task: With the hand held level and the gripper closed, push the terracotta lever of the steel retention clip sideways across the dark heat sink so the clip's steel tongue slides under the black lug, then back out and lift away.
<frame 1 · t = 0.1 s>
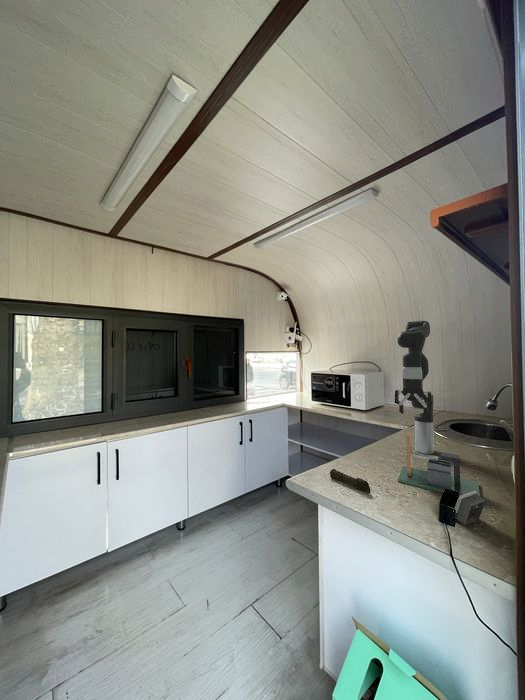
hand: (413, 414, 115), 29 cm above the worktop, tool pointing down, fingers open, 8 cm apart
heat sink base: (426, 480, 116), on the worktop
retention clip: (422, 455, 117), point 11 cm above the worktop, slide at 0.0 cm
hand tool: (350, 485, 114), on the worktop
electrical switch: (468, 521, 89), on the worktop
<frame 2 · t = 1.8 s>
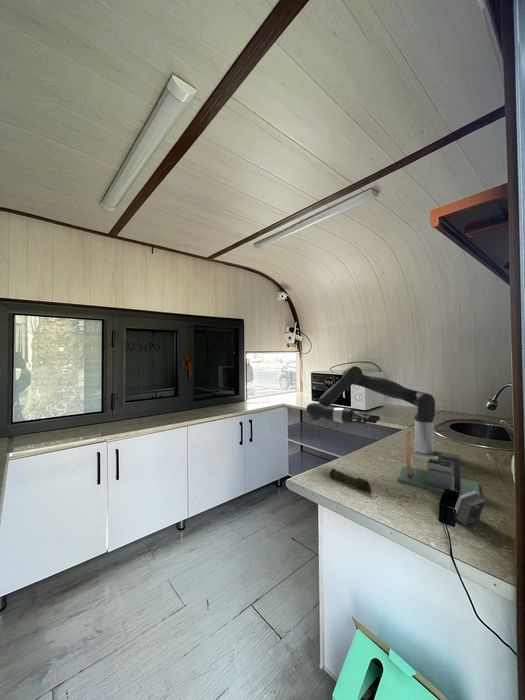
hand: (378, 419, 128), 24 cm above the worktop, tool horizontal, fingers open, 5 cm apart
nothing on the worktop moved.
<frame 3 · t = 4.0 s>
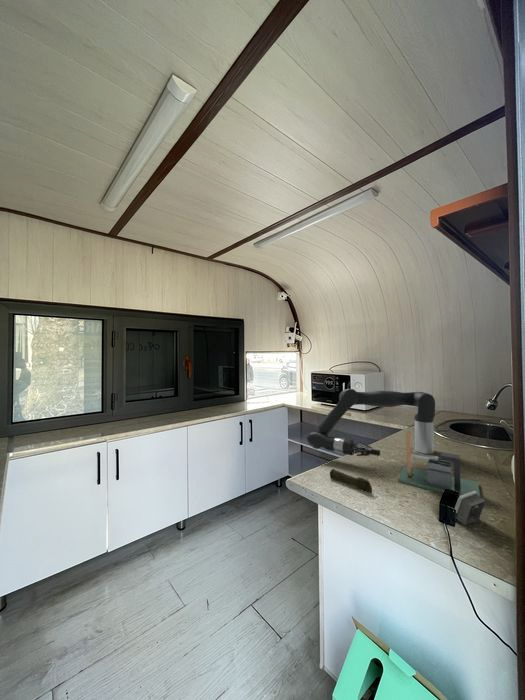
hand: (379, 453, 127), 8 cm above the worktop, tool horizontal, fingers closed
nothing on the worktop moved.
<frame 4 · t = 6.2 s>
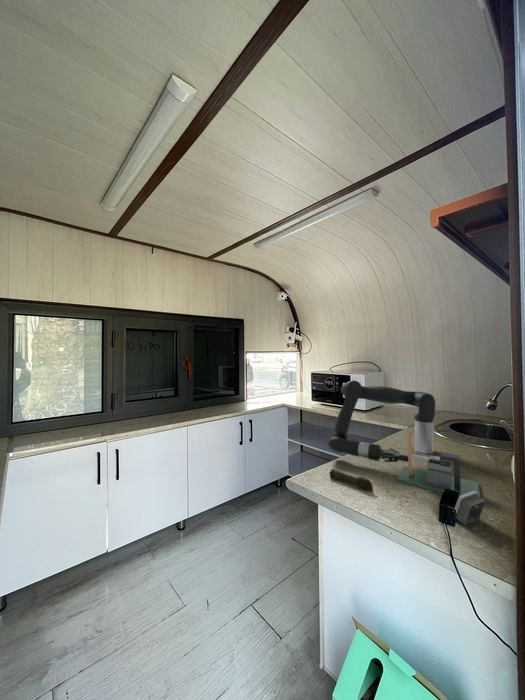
hand: (409, 459, 120), 8 cm above the worktop, tool horizontal, fingers closed
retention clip: (424, 456, 117), point 11 cm above the worktop, slide at 0.6 cm, touching gripper
everything else where it was.
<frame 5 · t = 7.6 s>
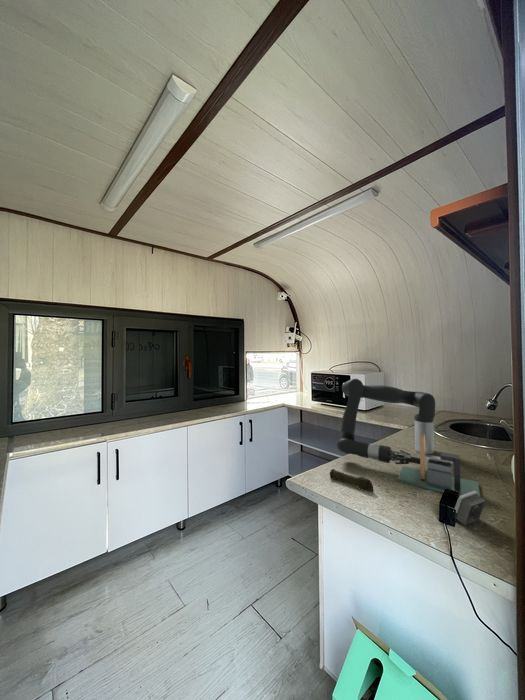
hand: (421, 461, 117), 8 cm above the worktop, tool horizontal, fingers closed
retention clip: (436, 458, 114), point 11 cm above the worktop, slide at 5.2 cm, touching gripper
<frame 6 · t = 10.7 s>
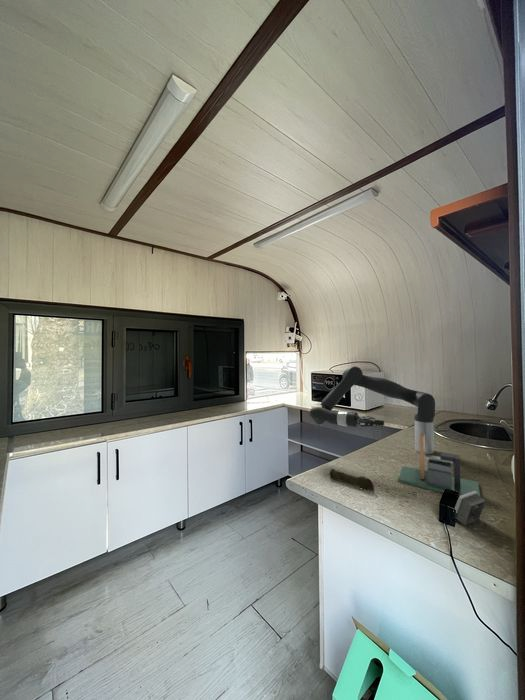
hand: (383, 423, 126), 23 cm above the worktop, tool horizontal, fingers closed
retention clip: (436, 458, 114), point 11 cm above the worktop, slide at 5.0 cm
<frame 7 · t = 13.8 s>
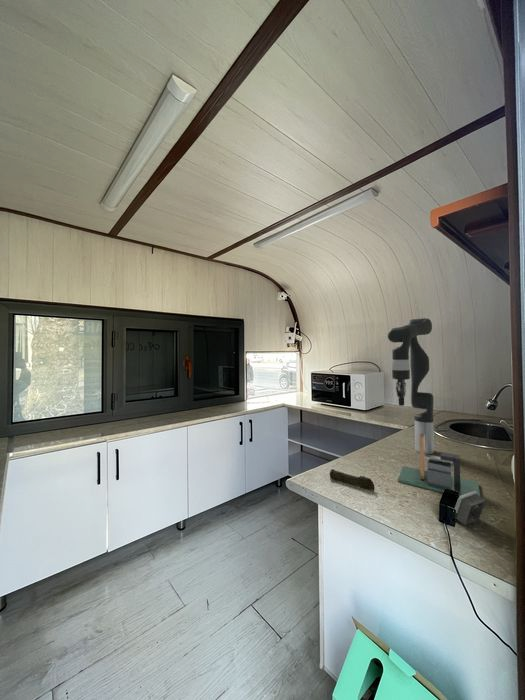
hand: (401, 405, 127), 31 cm above the worktop, tool pointing down, fingers closed
at the end: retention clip slide at 5.0 cm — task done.
